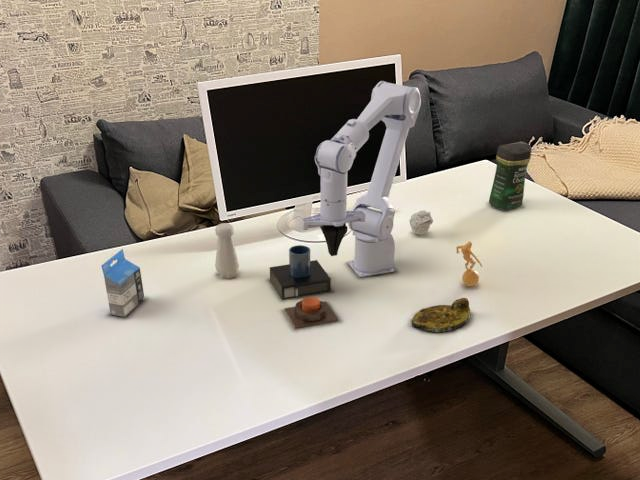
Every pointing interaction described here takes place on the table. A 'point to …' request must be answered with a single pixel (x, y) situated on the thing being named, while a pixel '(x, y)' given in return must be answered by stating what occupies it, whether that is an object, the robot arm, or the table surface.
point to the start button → (310, 304)
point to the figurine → (470, 275)
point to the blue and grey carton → (122, 285)
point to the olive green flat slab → (443, 316)
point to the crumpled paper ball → (420, 222)
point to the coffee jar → (510, 175)
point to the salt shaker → (226, 252)
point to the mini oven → (300, 281)
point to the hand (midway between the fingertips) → (332, 253)
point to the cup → (299, 261)
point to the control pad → (310, 315)
